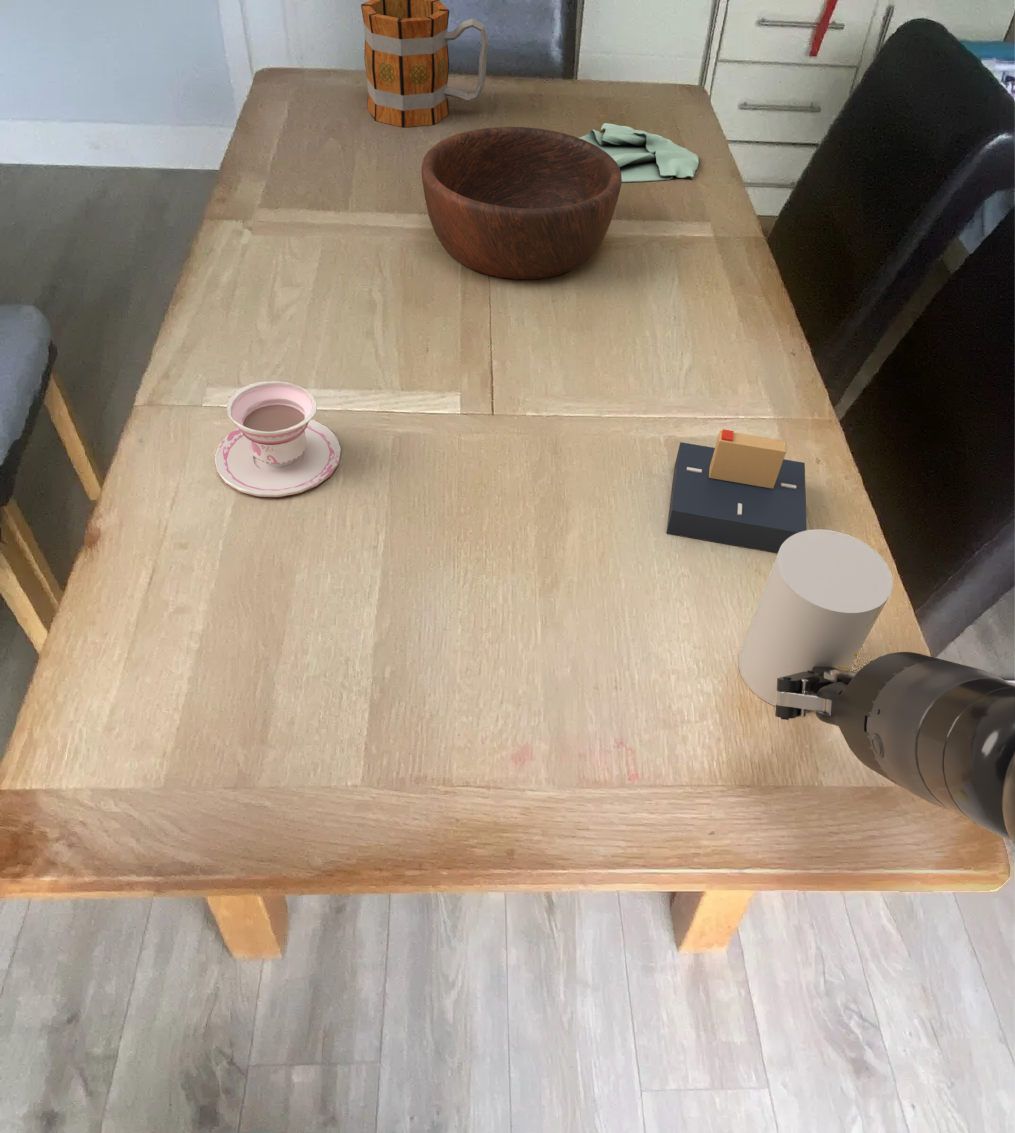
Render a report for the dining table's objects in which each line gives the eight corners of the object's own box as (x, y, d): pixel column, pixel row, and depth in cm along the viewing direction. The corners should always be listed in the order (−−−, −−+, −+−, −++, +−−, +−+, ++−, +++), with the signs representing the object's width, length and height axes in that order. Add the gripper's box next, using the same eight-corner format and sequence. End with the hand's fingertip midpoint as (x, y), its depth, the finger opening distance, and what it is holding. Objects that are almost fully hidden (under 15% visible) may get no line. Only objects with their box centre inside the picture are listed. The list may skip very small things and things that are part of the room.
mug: (360, 124, 144) (353, 18, 133) (373, 93, 153) (367, -9, 142) (484, 132, 144) (486, 27, 133) (488, 100, 153) (491, -1, 142)
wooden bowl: (633, 223, 125) (645, 148, 118) (577, 311, 109) (586, 230, 101) (467, 186, 131) (469, 111, 123) (390, 264, 114) (386, 184, 107)
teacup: (364, 443, 90) (360, 392, 86) (293, 515, 83) (284, 464, 78) (266, 406, 94) (256, 355, 89) (189, 473, 86) (174, 421, 82)
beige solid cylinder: (846, 716, 70) (903, 618, 62) (742, 705, 71) (784, 606, 62) (831, 635, 76) (881, 535, 67) (734, 625, 76) (771, 524, 68)
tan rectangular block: (773, 478, 85) (787, 438, 81) (773, 489, 84) (787, 449, 80) (709, 467, 86) (720, 427, 82) (708, 478, 84) (719, 438, 81)
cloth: (710, 184, 135) (714, 168, 133) (565, 182, 133) (567, 165, 131) (683, 129, 149) (686, 114, 147) (551, 126, 147) (553, 110, 145)
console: (795, 478, 90) (805, 454, 87) (797, 557, 82) (807, 532, 80) (675, 458, 91) (681, 433, 89) (666, 533, 84) (672, 508, 81)
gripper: (1062, 666, 49) (911, 634, 67) (823, 655, 49) (734, 626, 66) (1053, 802, 50) (905, 735, 67) (815, 792, 49) (728, 727, 67)
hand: (820, 681), depth 67 cm, fingers closed
